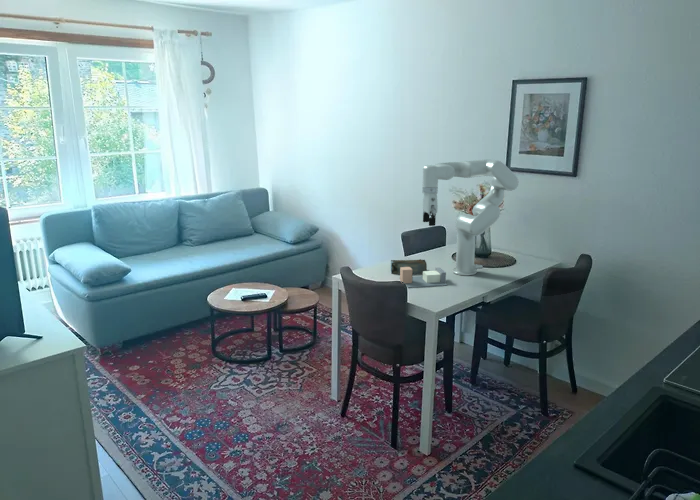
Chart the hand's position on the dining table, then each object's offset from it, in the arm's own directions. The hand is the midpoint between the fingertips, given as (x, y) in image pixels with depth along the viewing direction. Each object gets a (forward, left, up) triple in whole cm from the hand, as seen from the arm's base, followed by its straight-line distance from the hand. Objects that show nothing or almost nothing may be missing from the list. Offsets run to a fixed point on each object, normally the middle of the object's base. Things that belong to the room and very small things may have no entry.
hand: (429, 223), depth 271 cm
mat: (+5, +8, -28) cm, 30 cm away
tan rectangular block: (+14, +8, -28) cm, 32 cm away
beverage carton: (+7, -11, -29) cm, 32 cm away
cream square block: (0, +8, -28) cm, 29 cm away
